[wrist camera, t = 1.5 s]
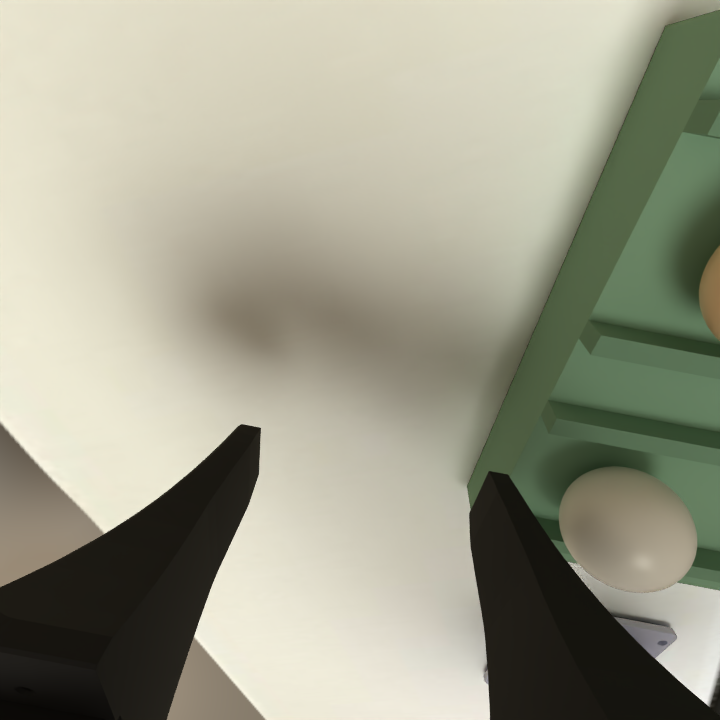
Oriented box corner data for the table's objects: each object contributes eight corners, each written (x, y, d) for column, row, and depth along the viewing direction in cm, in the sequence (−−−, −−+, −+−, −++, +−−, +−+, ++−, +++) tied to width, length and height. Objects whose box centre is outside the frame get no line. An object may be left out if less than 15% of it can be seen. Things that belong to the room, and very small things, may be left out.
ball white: (626, 524, 16) (679, 627, 12) (530, 506, 16) (559, 605, 12) (680, 454, 14) (759, 556, 11) (571, 433, 14) (618, 529, 11)
